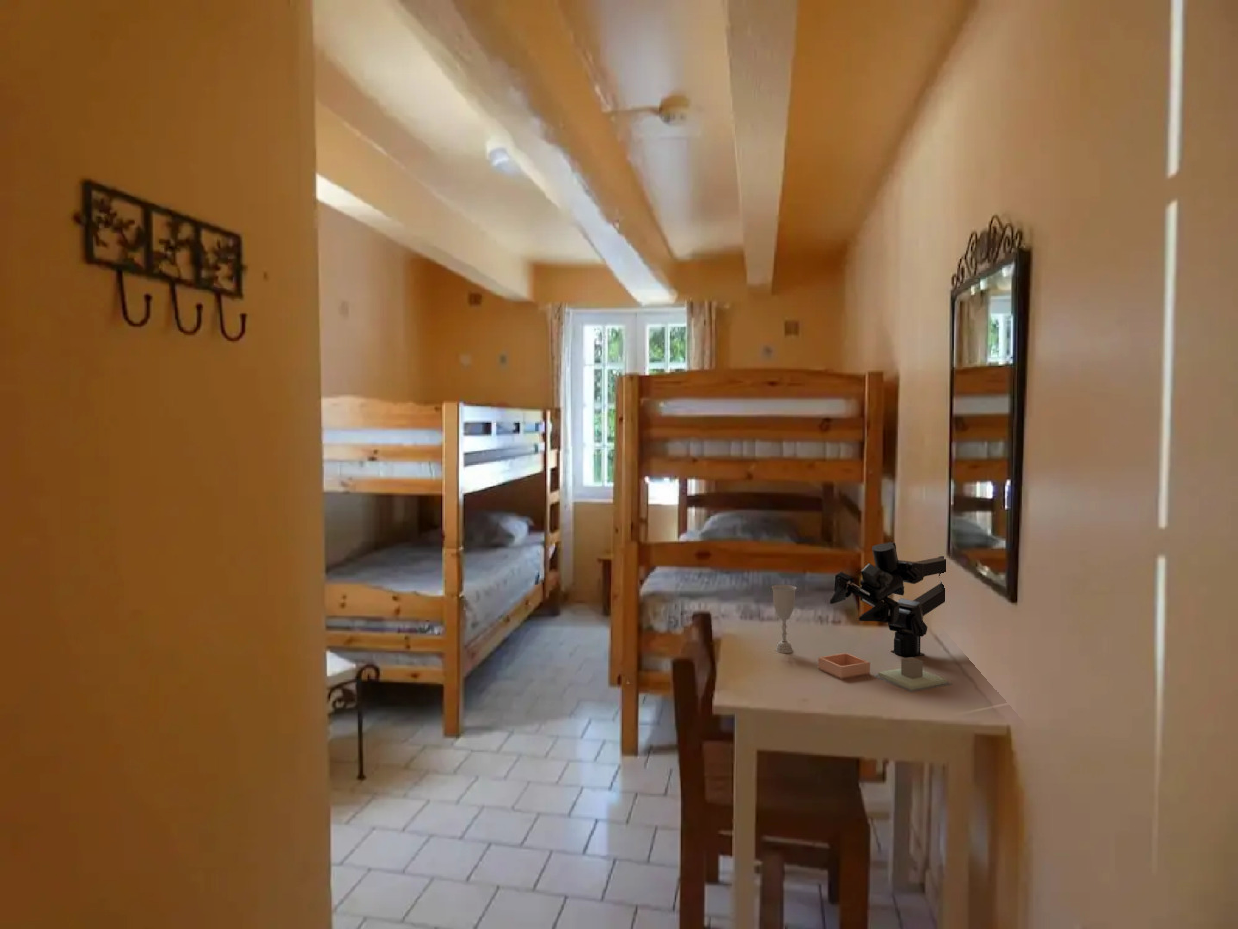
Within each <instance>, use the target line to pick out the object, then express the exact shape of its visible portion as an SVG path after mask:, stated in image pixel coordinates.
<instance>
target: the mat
mask: <svg viewBox="0 0 1238 929" xmlns="http://www.w3.org/2000/svg"><path fill="white" fill-rule="evenodd" d="M872 677H875V678H877V679H879V680H881V681H884V682H886V683H889V684H891V685H893V686H896V687H897V688H900V689H903V690H905V691H907V692H910V693H913V692H914V693H915V692H919V691H924V690H928V689H934V688H941V687H944V686H950V685H952V683H951V682H948V681H946V683H945V684H940V685H935V686H930V687H924V688H919V689H914V690H910V689H908V688H905V687H903V686H901V685H898V684H896V683H893V682H891V681H889V680H886V679H884V678H882V677H879V674H875V675H872Z"/></svg>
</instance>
